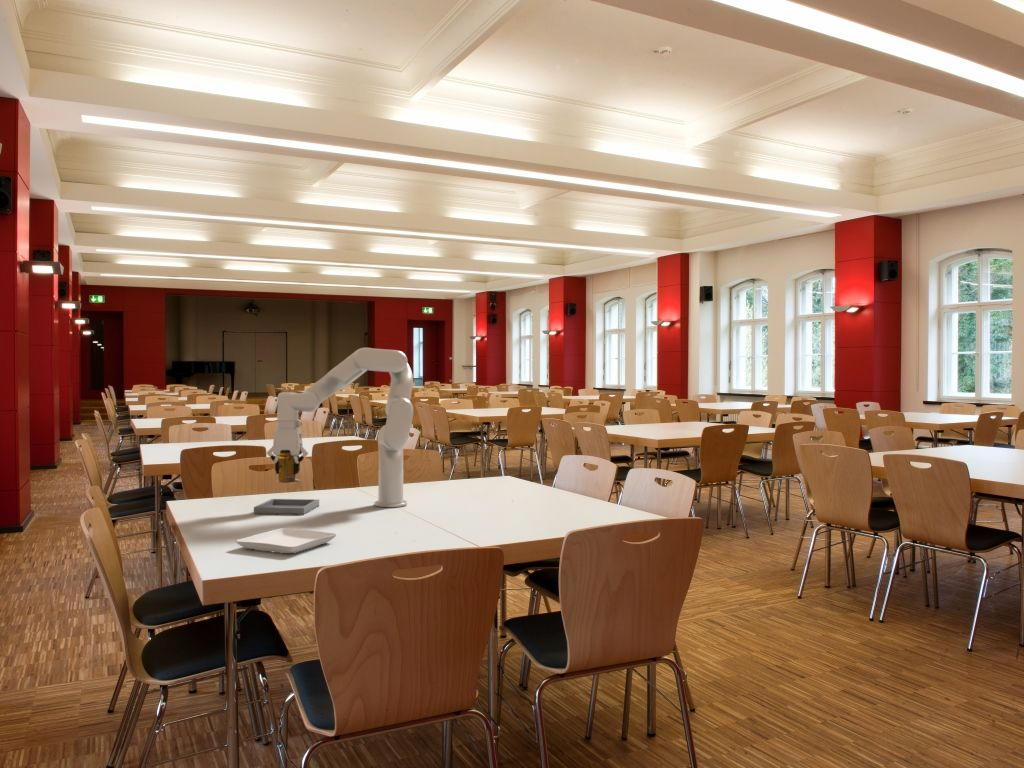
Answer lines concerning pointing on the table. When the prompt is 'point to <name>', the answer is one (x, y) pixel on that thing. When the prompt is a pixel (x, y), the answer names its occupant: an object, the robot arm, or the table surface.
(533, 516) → the table surface
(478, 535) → the table surface
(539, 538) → the table surface
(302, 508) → the tray
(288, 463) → the condiment
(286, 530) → the salad plate
